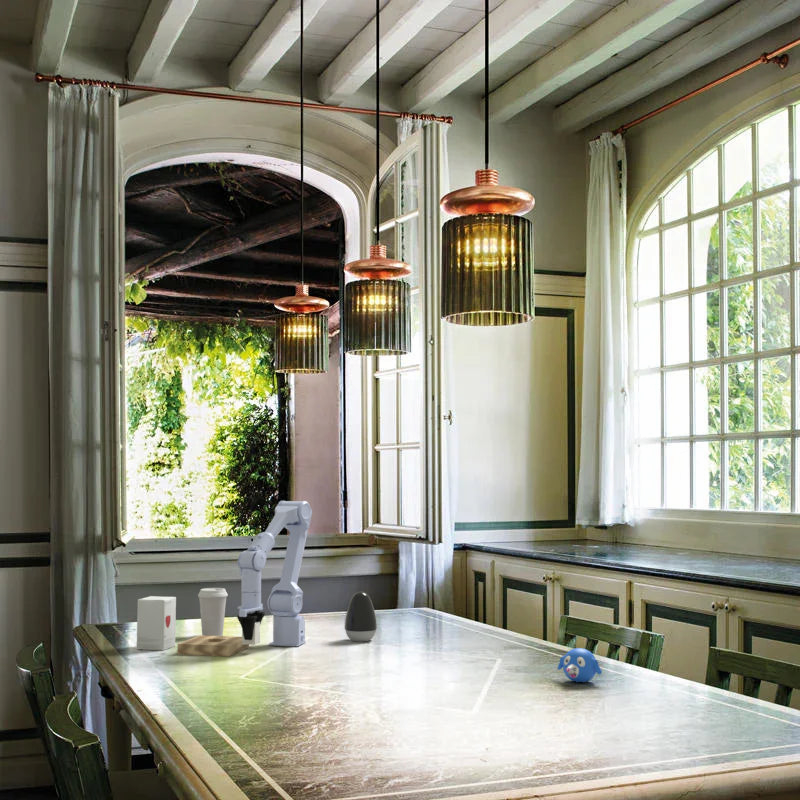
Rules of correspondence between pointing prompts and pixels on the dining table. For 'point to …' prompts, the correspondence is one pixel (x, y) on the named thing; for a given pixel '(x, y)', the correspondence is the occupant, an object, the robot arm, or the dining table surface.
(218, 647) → the socket plate
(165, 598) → the supplement box
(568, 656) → the blue mole toy
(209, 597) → the coffee cup
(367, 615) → the two-tone egg ornament
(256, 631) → the plug
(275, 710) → the dining table surface
